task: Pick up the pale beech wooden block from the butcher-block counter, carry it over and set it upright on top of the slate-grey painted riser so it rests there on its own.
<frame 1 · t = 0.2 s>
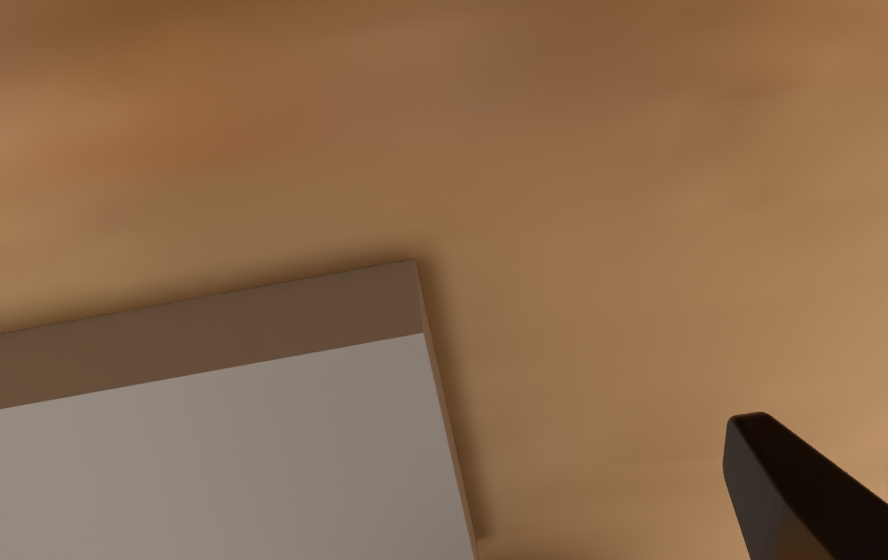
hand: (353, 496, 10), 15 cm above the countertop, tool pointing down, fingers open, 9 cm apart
grey riser: (201, 453, 30), on the countertop
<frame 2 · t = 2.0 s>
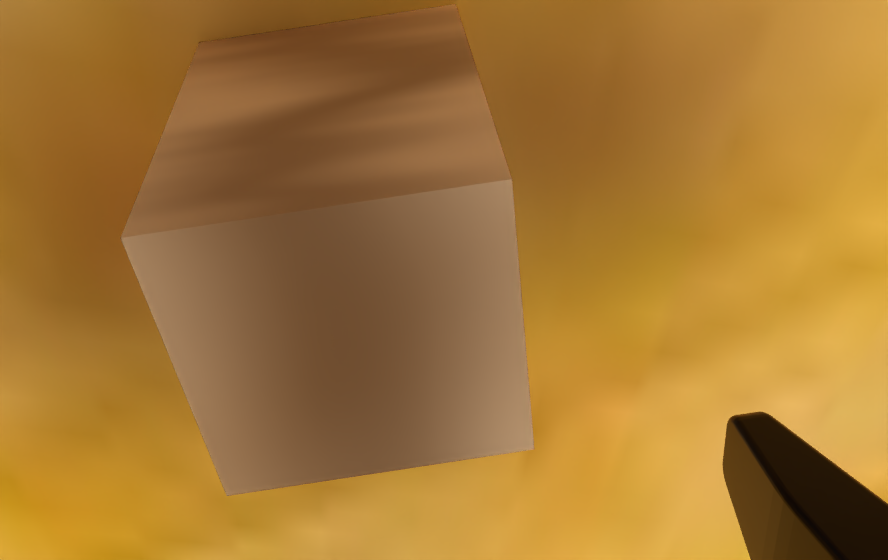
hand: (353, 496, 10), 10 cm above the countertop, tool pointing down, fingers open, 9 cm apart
beech block: (351, 139, 18), on the countertop
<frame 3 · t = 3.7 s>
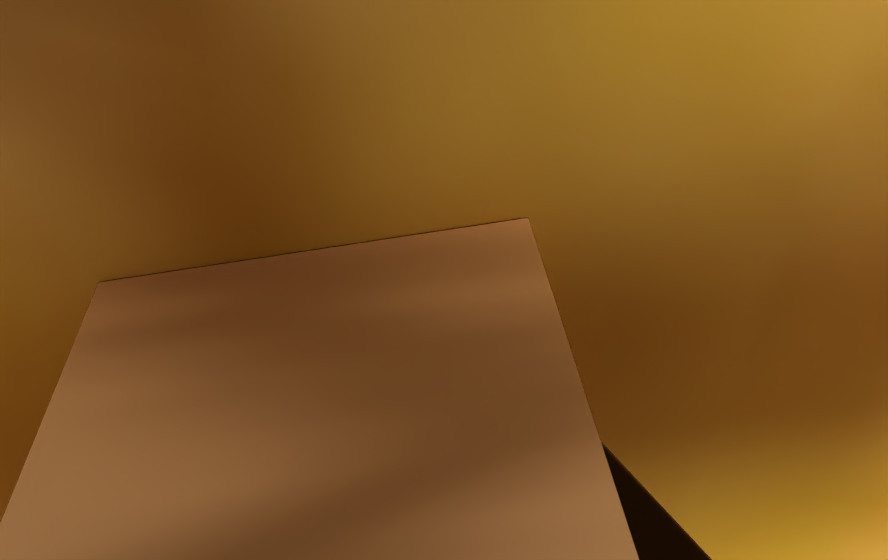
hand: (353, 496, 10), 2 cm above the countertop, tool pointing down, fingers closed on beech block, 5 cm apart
beech block: (353, 404, 11), on the countertop, touching gripper
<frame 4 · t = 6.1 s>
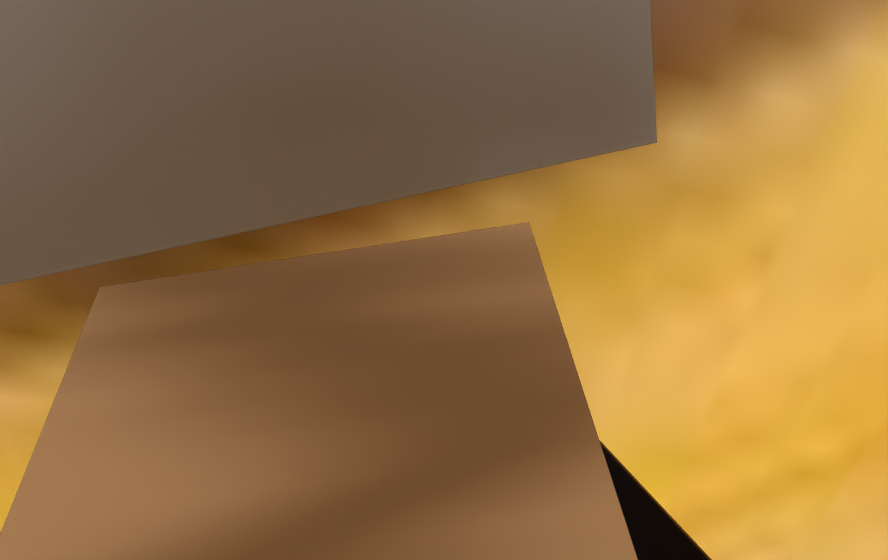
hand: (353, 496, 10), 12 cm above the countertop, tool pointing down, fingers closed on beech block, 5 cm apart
beech block: (353, 408, 11), point 10 cm above the countertop, touching gripper
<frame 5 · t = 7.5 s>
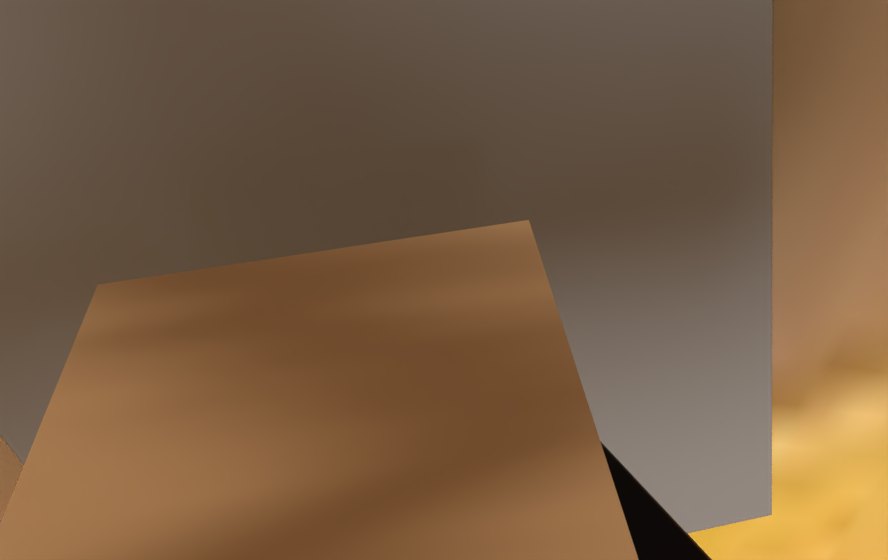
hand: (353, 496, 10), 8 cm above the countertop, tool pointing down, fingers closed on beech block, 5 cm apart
grey riser: (347, 155, 17), on the countertop
beech block: (352, 406, 11), point 7 cm above the countertop, touching gripper
when the fingers open (7 cm above the countertop, at t = 8.6 s): beech block drops 2 cm, point 3 cm above the countertop.
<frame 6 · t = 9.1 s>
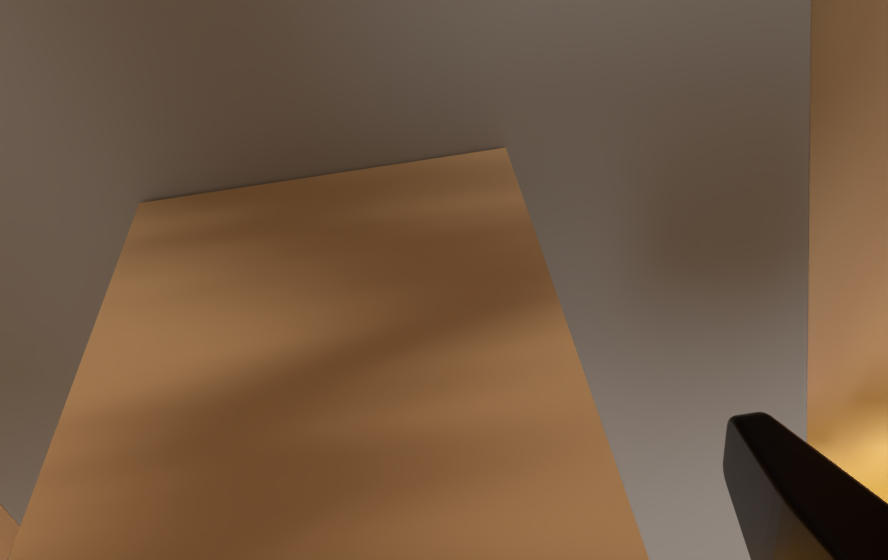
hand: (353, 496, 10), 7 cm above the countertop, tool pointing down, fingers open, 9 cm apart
grey riser: (350, 181, 16), on the countertop
beech block: (355, 317, 13), point 3 cm above the countertop
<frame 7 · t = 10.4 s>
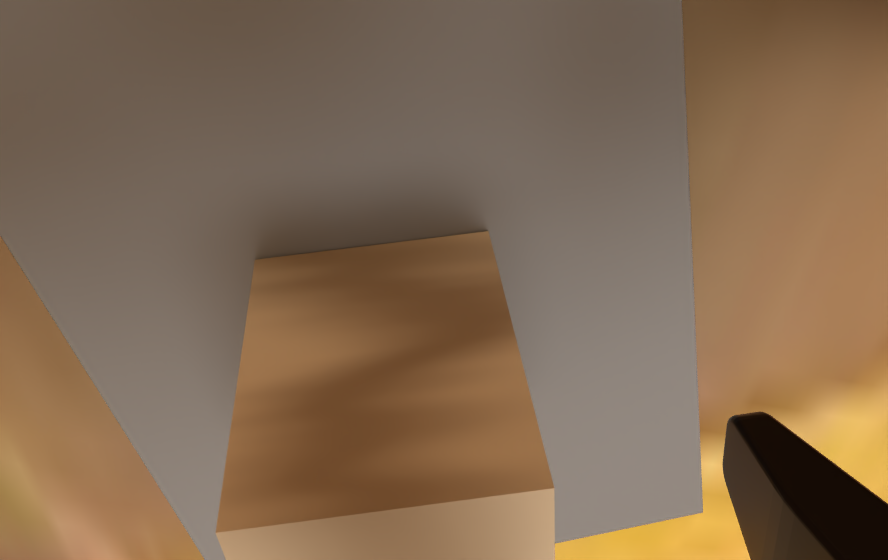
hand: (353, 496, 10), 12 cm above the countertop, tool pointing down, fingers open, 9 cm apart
grey riser: (386, 238, 23), on the countertop, touching beech block
beech block: (386, 334, 20), point 3 cm above the countertop, touching grey riser
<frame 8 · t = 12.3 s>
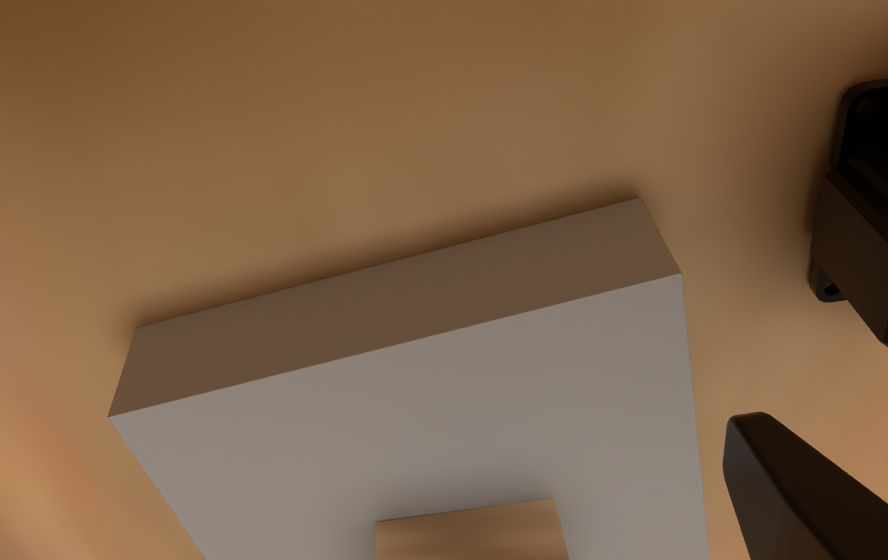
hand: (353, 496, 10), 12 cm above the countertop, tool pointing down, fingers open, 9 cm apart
grey riser: (458, 465, 28), on the countertop, touching beech block
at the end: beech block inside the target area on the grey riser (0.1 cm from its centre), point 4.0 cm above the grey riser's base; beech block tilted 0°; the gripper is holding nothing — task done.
